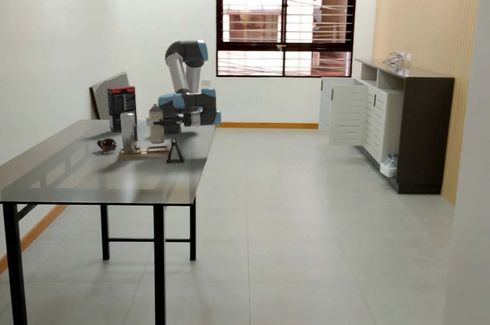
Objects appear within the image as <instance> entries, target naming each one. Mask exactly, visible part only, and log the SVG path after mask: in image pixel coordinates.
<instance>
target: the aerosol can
mask: <svg viewBox="0 0 490 325" xmlns="http://www.w3.org/2000/svg"><path fill="white" fill-rule="evenodd" d="M148 118H149V120H159V121H160V119H161V120H163V113H162V109H160V108H159V107H158V103H153V106H152V107H150V109H148ZM149 131H150V132H149V133H150V143H151V144H154V145H156V144H157V145H158V144H160V145H161V144H164V143H165V134H164V127H163V126H161V125H158V126H149Z"/></svg>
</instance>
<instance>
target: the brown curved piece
mask: <svg viewBox="0 0 490 325" xmlns="http://www.w3.org/2000/svg"><path fill="white" fill-rule="evenodd" d="M96 144H97V146H98V147H99V148H100V149H102V150H101V153H103V152H106V153H107V152H110V151H113V150H116V149H117V147H118V146H117V142H116V140H115V139H114V138H111V137H108V138H107V137H106V138H104V139H103V140H101V139H100V140H99V139H98V140H97V142H96Z"/></svg>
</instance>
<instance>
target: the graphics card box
mask: <svg viewBox="0 0 490 325" xmlns="http://www.w3.org/2000/svg"><path fill="white" fill-rule="evenodd" d="M106 91H107V93H106V94H107V104H108V106H107V107H108V118H109V119H108V120H109V130H110V129H111V130H110V131H112V130H114V131H113V132H117V131H116V130H121V131H122V129H121V118H120V114H123V113H134V116H135V124H137V125H138V118H137V117H138V116H137V114H138V113H137V101H136V87H135V86H133V85H129V86H120V87H112V88H106Z"/></svg>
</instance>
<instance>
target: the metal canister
mask: <svg viewBox="0 0 490 325" xmlns="http://www.w3.org/2000/svg"><path fill="white" fill-rule="evenodd" d="M120 118H121V129H122V130H121V136H122V137H121V138H122V139H121V140H122V148H123V151H124V153H131V152H137V147H138V141H139V139H138V138H139V136H138V123H137V124H135V116H134V113H123V114H120Z"/></svg>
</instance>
